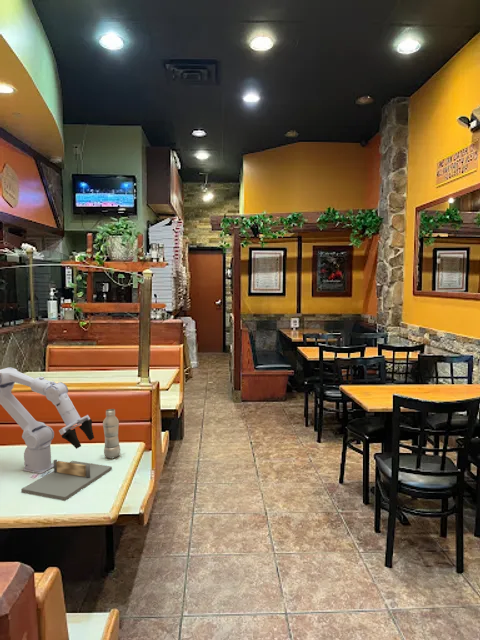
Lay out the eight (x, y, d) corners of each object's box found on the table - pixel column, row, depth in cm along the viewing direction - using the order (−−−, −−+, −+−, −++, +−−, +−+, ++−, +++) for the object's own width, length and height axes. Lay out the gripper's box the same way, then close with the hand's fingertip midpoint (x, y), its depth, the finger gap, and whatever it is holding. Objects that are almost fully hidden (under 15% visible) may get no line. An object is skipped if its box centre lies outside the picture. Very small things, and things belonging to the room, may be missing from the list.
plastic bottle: (124, 455, 176) (122, 409, 175) (111, 461, 171) (109, 413, 169) (113, 452, 180) (111, 407, 178) (100, 458, 174) (98, 411, 172)
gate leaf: (56, 472, 158) (56, 461, 158) (58, 471, 159) (58, 460, 158) (84, 476, 154) (84, 466, 153) (86, 475, 154) (86, 465, 154)
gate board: (21, 492, 146) (20, 476, 145) (72, 463, 169) (71, 449, 169) (65, 500, 139) (64, 483, 139) (111, 469, 163) (111, 455, 162)
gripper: (61, 414, 152) (79, 447, 151) (87, 401, 166) (104, 431, 165) (48, 422, 154) (66, 454, 154) (75, 409, 168) (92, 438, 167)
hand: (85, 443), depth 159 cm, fingers open, 7 cm apart
